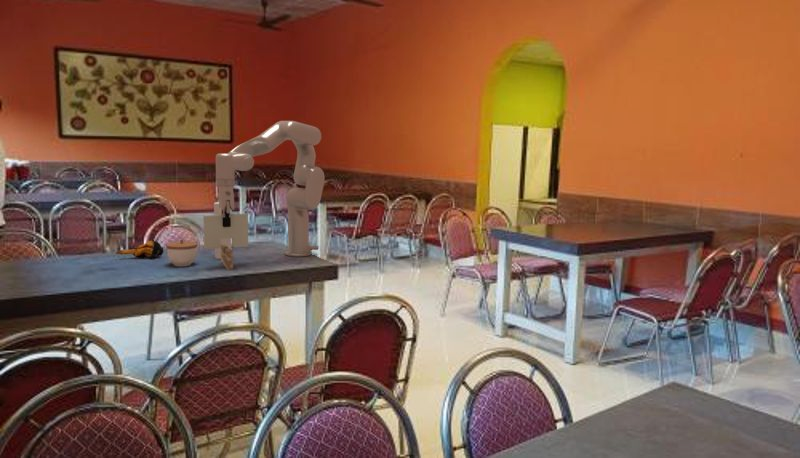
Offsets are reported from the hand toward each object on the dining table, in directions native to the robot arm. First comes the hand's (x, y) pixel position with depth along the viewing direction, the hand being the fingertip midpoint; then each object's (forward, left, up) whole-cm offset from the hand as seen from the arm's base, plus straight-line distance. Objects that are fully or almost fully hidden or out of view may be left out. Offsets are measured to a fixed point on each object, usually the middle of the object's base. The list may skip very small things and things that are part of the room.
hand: (226, 226), depth 259 cm
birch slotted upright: (0, 0, -17) cm, 17 cm away
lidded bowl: (+17, -10, -18) cm, 26 cm away
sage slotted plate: (0, 0, -9) cm, 9 cm away
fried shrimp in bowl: (+32, -30, -18) cm, 47 cm away
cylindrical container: (-2, -20, -18) cm, 26 cm away
